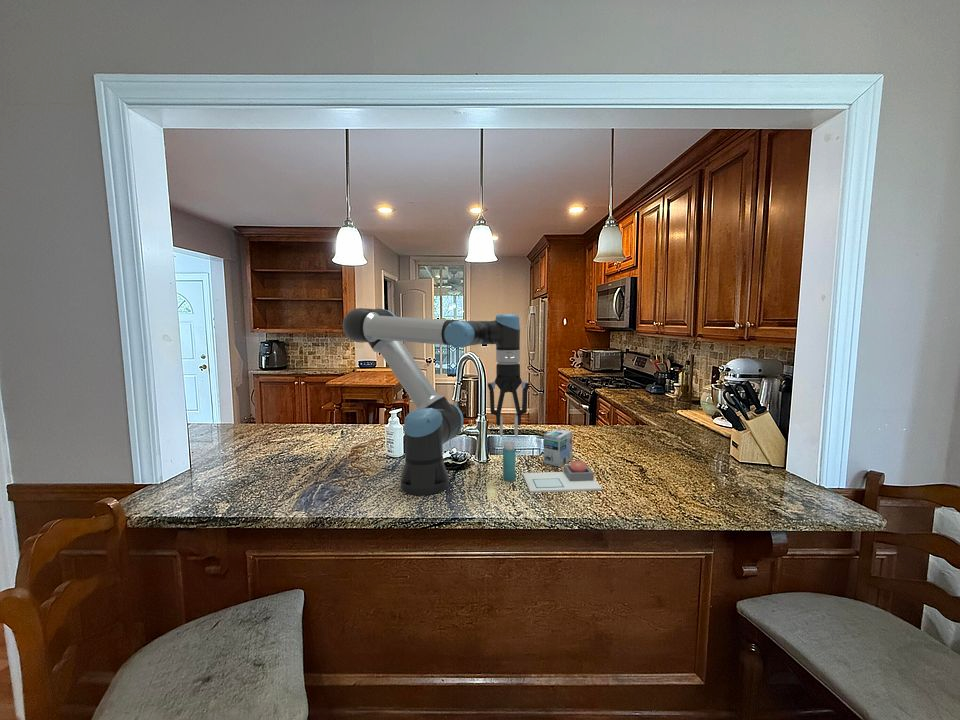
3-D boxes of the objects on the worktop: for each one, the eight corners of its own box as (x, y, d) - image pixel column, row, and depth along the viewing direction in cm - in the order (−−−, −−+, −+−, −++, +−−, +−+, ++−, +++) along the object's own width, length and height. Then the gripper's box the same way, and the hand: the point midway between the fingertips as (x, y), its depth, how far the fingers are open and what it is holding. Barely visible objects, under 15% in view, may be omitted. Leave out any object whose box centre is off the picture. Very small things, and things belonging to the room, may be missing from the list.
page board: (530, 492, 118) (530, 483, 118) (522, 474, 132) (522, 466, 132) (602, 490, 120) (602, 480, 119) (587, 472, 133) (587, 464, 133)
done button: (572, 475, 126) (572, 466, 126) (568, 469, 131) (568, 461, 131) (588, 475, 127) (588, 465, 126) (583, 469, 132) (583, 460, 131)
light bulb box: (560, 467, 139) (560, 437, 138) (543, 463, 143) (543, 434, 142) (572, 458, 147) (573, 430, 146) (556, 455, 151) (556, 427, 150)
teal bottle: (503, 481, 127) (503, 445, 126) (502, 476, 131) (502, 441, 130) (516, 481, 127) (516, 444, 126) (514, 476, 131) (514, 441, 130)
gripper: (481, 364, 121) (482, 439, 124) (537, 363, 122) (537, 437, 124) (480, 362, 129) (481, 432, 131) (532, 361, 130) (532, 431, 132)
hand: (508, 434), depth 128 cm, fingers open, 4 cm apart
